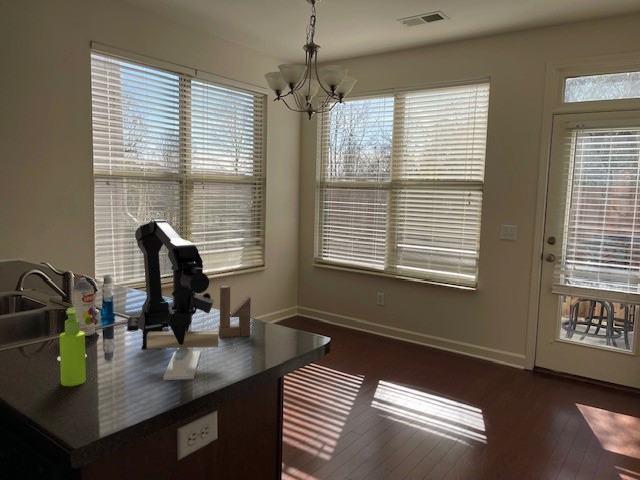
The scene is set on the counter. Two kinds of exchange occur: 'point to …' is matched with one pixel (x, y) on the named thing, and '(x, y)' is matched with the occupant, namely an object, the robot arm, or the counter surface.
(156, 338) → the birch bar
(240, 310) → the wooden block
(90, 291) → the aerosol can
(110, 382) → the counter surface
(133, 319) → the door handle
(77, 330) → the soap dispenser
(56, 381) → the counter surface
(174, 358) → the ridge stand
